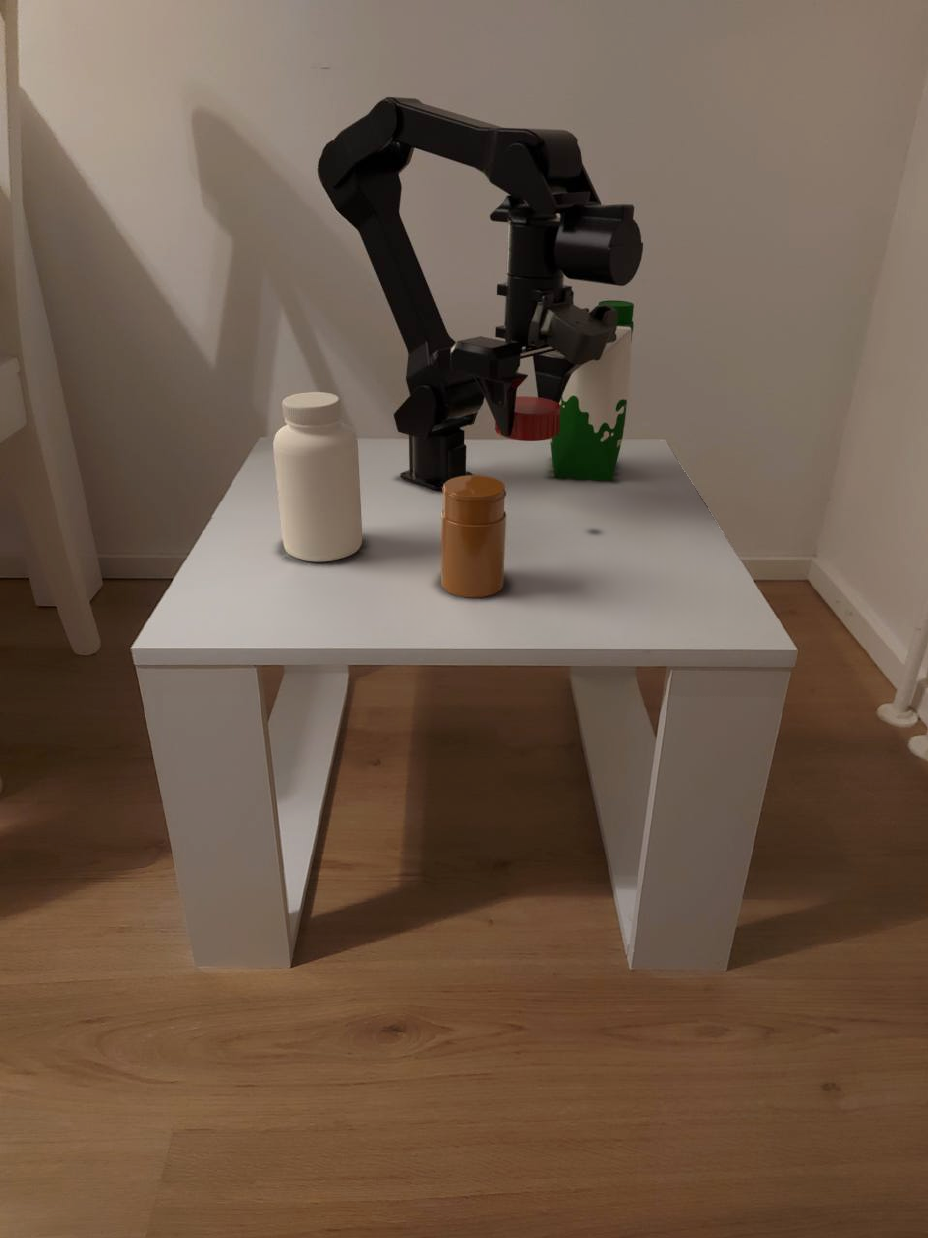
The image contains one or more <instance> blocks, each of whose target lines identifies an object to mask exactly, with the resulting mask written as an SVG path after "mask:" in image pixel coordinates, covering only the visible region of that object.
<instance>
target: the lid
mask: <svg viewBox="0 0 928 1238" xmlns="http://www.w3.org/2000/svg"><path fill="white" fill-rule="evenodd" d="M560 415H561V412H560V404H559V403H557V402H555V401H553V400H550V399H545V398H540V397H538V396H529V395H527V396H525V395H524V396H516V402H515V411H514V421H513V427H512V432H511V435H510V436H508V437H507V436H503V435H501V433H500V431H499V429H498V426H497V424H496V422H495V421H494V423H495V424H494V426H495V427H494V431H495V433H496V434H497V435H498V436H501V437H503V438H505V439H510V440H515V441H520V442H538V441H539V442H540V441H546V440H550V439H551V438H554V437H555V436H557V435H558V432H559V429H560Z"/></svg>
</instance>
